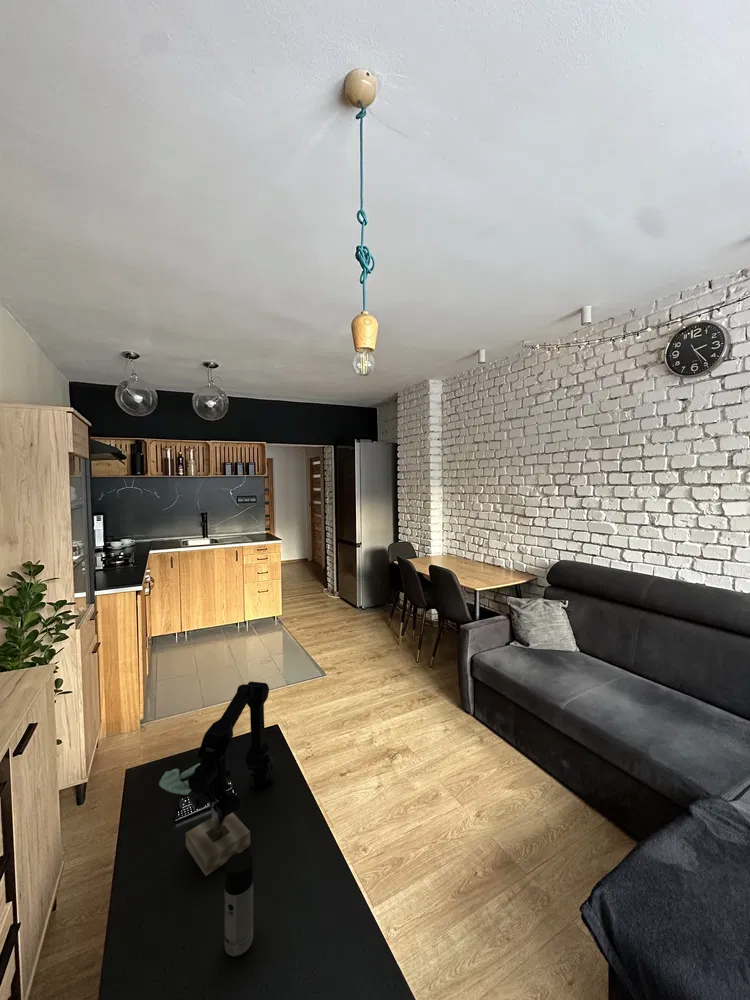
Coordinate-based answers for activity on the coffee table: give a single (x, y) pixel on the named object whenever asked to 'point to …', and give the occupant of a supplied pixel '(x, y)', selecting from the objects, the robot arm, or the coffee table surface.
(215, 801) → the peg
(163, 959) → the coffee table surface
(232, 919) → the spray can
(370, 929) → the coffee table surface
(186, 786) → the cloth
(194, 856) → the socket board
